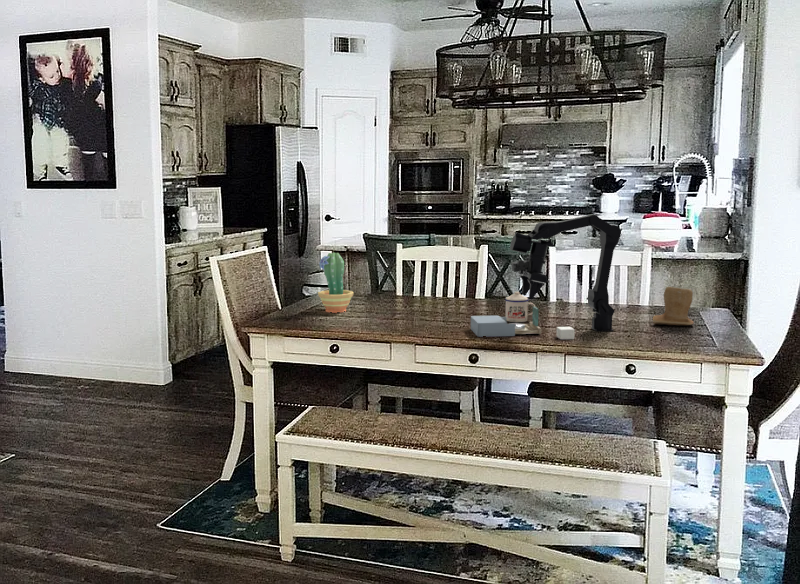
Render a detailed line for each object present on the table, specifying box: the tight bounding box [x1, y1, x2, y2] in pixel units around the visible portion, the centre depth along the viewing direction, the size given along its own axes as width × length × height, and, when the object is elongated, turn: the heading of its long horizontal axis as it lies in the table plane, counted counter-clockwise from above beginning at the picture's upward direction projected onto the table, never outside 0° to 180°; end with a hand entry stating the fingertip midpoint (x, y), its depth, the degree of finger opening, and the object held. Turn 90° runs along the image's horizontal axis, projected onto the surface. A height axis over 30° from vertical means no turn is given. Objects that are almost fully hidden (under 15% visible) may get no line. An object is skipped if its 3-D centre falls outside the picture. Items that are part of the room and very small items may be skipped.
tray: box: [515, 306, 542, 335], centre depth 290 cm, size 14×13×8 cm
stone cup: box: [652, 286, 695, 326], centre depth 303 cm, size 15×12×15 cm
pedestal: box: [555, 326, 575, 340], centre depth 280 cm, size 5×5×4 cm
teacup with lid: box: [504, 291, 536, 323], centre depth 312 cm, size 12×9×12 cm
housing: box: [470, 315, 516, 338], centre depth 289 cm, size 14×14×5 cm
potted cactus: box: [317, 252, 354, 314], centre depth 333 cm, size 15×15×25 cm
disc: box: [509, 322, 525, 330], centre depth 290 cm, size 7×7×2 cm
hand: (527, 297), depth 289 cm, fingers open, 9 cm apart
